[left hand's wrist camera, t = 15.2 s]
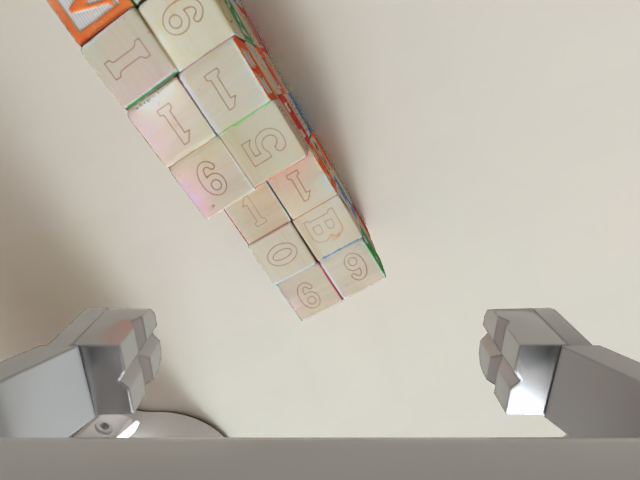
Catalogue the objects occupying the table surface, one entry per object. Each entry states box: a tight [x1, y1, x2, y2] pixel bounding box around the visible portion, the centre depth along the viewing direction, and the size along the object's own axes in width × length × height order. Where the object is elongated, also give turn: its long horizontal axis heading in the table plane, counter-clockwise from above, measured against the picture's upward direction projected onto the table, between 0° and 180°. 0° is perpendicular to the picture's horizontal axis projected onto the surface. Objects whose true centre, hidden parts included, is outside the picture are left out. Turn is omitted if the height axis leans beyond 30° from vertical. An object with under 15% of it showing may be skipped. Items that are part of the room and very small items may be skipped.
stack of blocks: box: [46, 0, 386, 321], centre depth 25 cm, size 21×6×12 cm, turn 30°
